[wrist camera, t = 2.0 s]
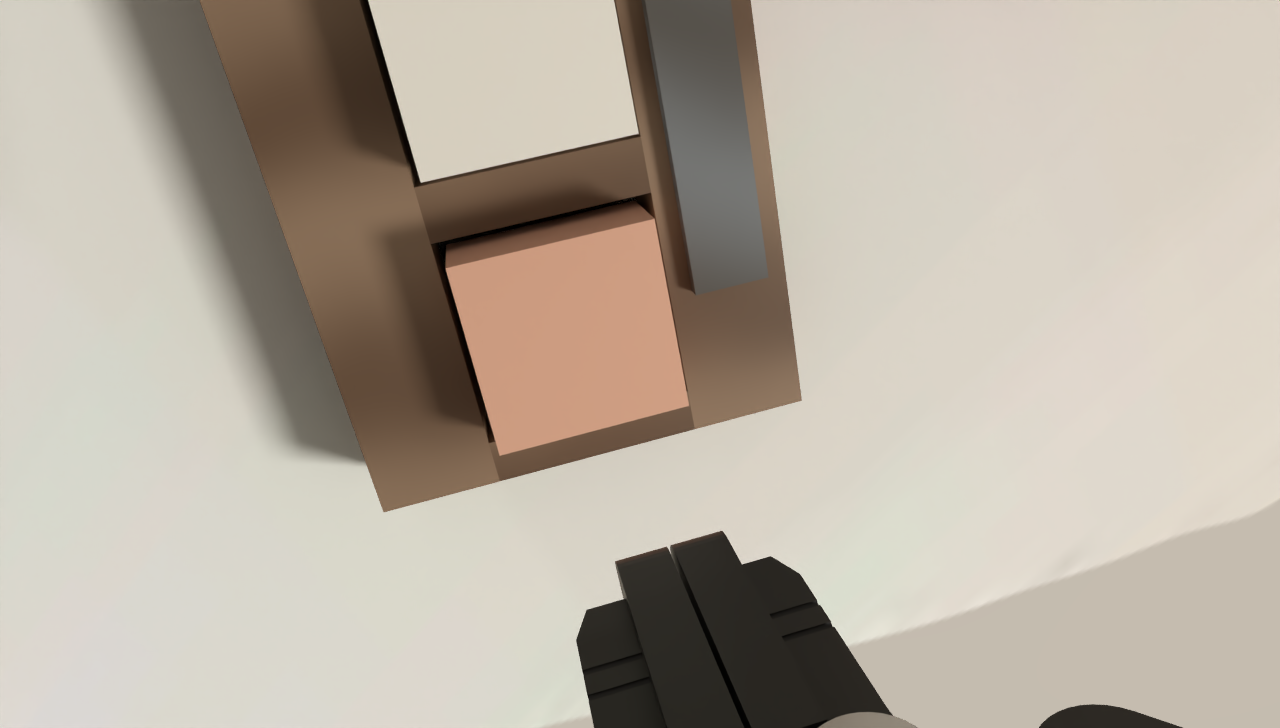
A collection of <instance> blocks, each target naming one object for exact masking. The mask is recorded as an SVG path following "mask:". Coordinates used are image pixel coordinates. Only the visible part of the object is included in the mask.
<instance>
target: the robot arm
mask: <svg viewBox="0 0 1280 728" xmlns="http://www.w3.org/2000/svg"><path fill="white" fill-rule="evenodd" d="M670 550H671V554H670V552H669V550H668V548H667V547H664V548H661V549H657V550H654V551H650V552H647V553H643V554H640V555H636V556H633V557H629V558H626V559H622V560H619V561H615V564H616V569H617V573H618V578H619V582H620V586H621V590H622V594H623V598H624V599H623V600H620V601H616V602H613V603H609V604H606V605H602V606H599V607H595V608H592V609H589V610H586V613H585V616H584V619H583V622H582V625H581V628H580V631H579V634H578V637H577V639H576V641H577V646H578V651H579V656H580V661H581V666H582V671H583V675H584V680H585V685H586V690H587V695H588V699H589V705H590V710H591V714H592V719H593V724H594V728H917V727H916V726H914V725H912V724H911V723H909V722H907V721H905V720H903V719H900V718H897V717H895V716H893V715H892V714H891V713H890V712H889V710H888V708H887V707H886V705H885V704H884V702H883V701H882V699H881V698H880V696H879V695H878V693H877V692H876V690H875V689H874V687H873V685H872V684H871V683H870V681H869V679H868V678H867V676H866V675H865V673H864V672H863V670H862V669H861V667H860V666H859V664H858V663H857V661H856V659H855V658H854V656H853V655H852V653H851V652H850V650H849V649H848V647H847V646H846V644H845V642H844V641H843V639H842V638H841V636H840V635H839V633H838V632H837V630H836V629H835V627H832V624H831V621H830V619H829V618H828V616H827V615H826V613H825V612H824V610H823V609H822V607H821V606H820V605H818V603H817V599H816V598H815V596H814V595H813V593H812V592H811V590H810V589H809V587H808V586H807V584H806V583H805V581H804V580H803V578H802V576H801V575H800V574H799V573H797V572H796V571H794V570H792V569H791V568H789V567H787V566H786V565H784V564H783V563H781V562H779V561H778V560H776V559H774V558H773V557H771V556H770V557H767V558H763V559H760V560H756V561H753V562H750V563H746V564H743V565H742V564H741V562H740V560H739V559H738V557H737V555H736V553H735V551H734V549H733V548H732V546H731V544H730V542H729V540H728V539H727V537H726V535H725V534H724V532H723V531H720V532H716V533H713V534H709V535H706V536H702V537H699V538H695V539H692V540H688V541H685V542H681V543H677V544H674V545H671V546H670ZM1039 728H1182V727H1179V726H1176V725H1173V724H1170V723H1167V722H1164V721H1161V720H1158V719H1156V718H1152V717H1149V716H1146V715H1144V714H1141V713H1138V712H1135V711H1131V710H1127V709H1124V708H1120V707H1114V706H1108V705H1080V706H1075V707H1070V708H1067V709H1064V710H1061V711H1059V712H1057V713H1055V714H1053V715H1052V716H1050V717H1049V718H1048V719H1046V720H1045V721H1044V722H1043V723H1042V724H1041V726H1040V727H1039Z"/></svg>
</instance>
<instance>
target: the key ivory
mask: <svg viewBox="0 0 1280 728" xmlns="http://www.w3.org/2000/svg"><path fill="white" fill-rule="evenodd" d="M368 2H369V5H370V9H371V12H372V16H373V19H374V23H375V26H376V29H377V33H378V36H379V40H380V43H381V47H382V50H383V54H384V57H385V61H386V64H387V68H388V71H389V74H390V78H391V81H392V85H393V88H394V92H395V95H396V99H397V102H398V106H399V109H400V113H401V116H402V119H403V123H404V126H405V130H406V133H407V137H408V140H409V144H410V147H411V151H412V154H413V158H414V161H415V164H416V168H417V171H418V175H419V178H420V182H421V183H422V182H426V181H431V180H435V179H440V178H444V177H449V176H453V175H458V174H462V173H466V172H471V171H475V170H480V169H484V168H489V167H493V166H497V165H502V164H506V163H511V162H515V161H520V160H524V159H529V158H533V157H537V156H542V155H546V154H551V153H555V152H560V151H564V150H569V149H573V148H577V147H582V146H586V145H591V144H595V143H600V142H604V141H608V140H613V139H617V138H622V137H626V136H631V135H635V134H639V132H638V127H637V122H636V116H635V111H634V106H633V100H632V95H631V89H630V84H629V79H628V73H627V68H626V62H625V57H624V52H623V46H622V41H621V35H620V30H619V25H618V19H617V14H616V8H615V3H614V0H368Z"/></svg>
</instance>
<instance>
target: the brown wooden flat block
mask: <svg viewBox="0 0 1280 728" xmlns="http://www.w3.org/2000/svg"><path fill="white" fill-rule="evenodd" d="M200 3H201V6H202V9H203V11H204V14H205V17H206V20H207V23H208V25H209V28H210V31H211V34H212V36H213V39H214V42H215V45H216V48H217V50H218V53H219V56H220V59H221V61H222V64H223V67H224V70H225V73H226V75H227V78H228V81H229V84H230V86H231V89H232V92H233V95H234V98H235V100H236V103H237V106H238V109H239V111H240V114H241V117H242V120H243V123H244V125H245V128H246V131H247V134H248V136H249V139H250V142H251V145H252V148H253V150H254V153H255V156H256V159H257V161H258V164H259V167H260V170H261V173H262V175H263V178H264V181H265V184H266V186H267V189H268V192H269V195H270V198H271V200H272V203H273V206H274V209H275V211H276V214H277V217H278V220H279V223H280V225H281V228H282V231H283V234H284V237H285V239H286V242H287V245H288V248H289V250H290V253H291V256H292V259H293V262H294V264H295V267H296V270H297V273H298V275H299V278H300V281H301V284H302V287H303V289H304V292H305V295H306V298H307V300H308V303H309V306H310V309H311V312H312V314H313V317H314V320H315V323H316V325H317V328H318V331H319V334H320V337H321V339H322V342H323V345H324V348H325V350H326V353H327V356H328V359H329V362H330V364H331V367H332V370H333V373H334V375H335V378H336V381H337V384H338V387H339V389H340V392H341V395H342V398H343V400H344V403H345V406H346V409H347V412H348V414H349V417H350V420H351V423H352V425H353V428H354V431H355V434H356V437H357V439H358V442H359V445H360V448H361V451H362V453H363V456H364V459H365V462H366V464H367V467H368V470H369V473H370V476H371V478H372V481H373V484H374V487H375V489H376V492H377V495H378V498H379V501H380V503H381V506H382V509H383V512H387V511H390V510H394V509H398V508H402V507H405V506H409V505H413V504H416V503H420V502H424V501H428V500H431V499H435V498H439V497H443V496H446V495H450V494H454V493H458V492H461V491H465V490H469V489H473V488H476V487H480V486H484V485H488V484H491V483H495V482H499V481H502V480H506V479H510V478H514V477H517V476H521V475H525V474H529V473H532V472H536V471H540V470H544V469H547V468H551V467H555V466H559V465H562V464H566V463H570V462H574V461H577V460H581V459H585V458H588V457H592V456H596V455H600V454H603V453H607V452H611V451H615V450H618V449H622V448H626V447H630V446H633V445H637V444H641V443H645V442H648V441H652V440H656V439H660V438H663V437H667V436H671V435H674V434H678V433H682V432H686V431H689V430H693V429H697V428H701V427H704V426H708V425H712V424H716V423H719V422H723V421H727V420H731V419H734V418H738V417H742V416H746V415H749V414H753V413H757V412H760V411H764V410H768V409H772V408H775V407H779V406H783V405H787V404H790V403H794V402H798V401H802V399H801V391H800V383H799V375H798V368H797V360H796V352H795V344H794V336H793V329H792V321H791V313H790V305H789V297H788V290H787V282H786V274H785V266H784V258H783V251H782V243H781V235H780V227H779V219H778V211H777V204H776V196H775V188H774V180H773V172H772V165H771V157H770V149H769V141H768V133H767V126H766V118H765V110H764V102H763V94H762V87H761V79H760V71H759V63H758V55H757V47H756V40H755V32H754V24H753V16H752V8H751V1H750V0H614V3H615V8H616V14H617V19H618V25H619V30H620V35H621V41H622V46H623V52H624V57H625V62H626V68H627V73H628V79H629V84H630V89H631V95H632V100H633V106H634V111H635V116H636V122H637V127H638V132H639V134H635V135H631V136H626V137H622V138H617V139H613V140H608V141H604V142H600V143H595V144H591V145H586V146H582V147H577V148H573V149H569V150H564V151H560V152H555V153H551V154H546V155H542V156H537V157H533V158H529V159H524V160H520V161H515V162H511V163H506V164H502V165H497V166H493V167H489V168H484V169H480V170H475V171H471V172H466V173H462V174H458V175H453V176H449V177H444V178H440V179H435V180H431V181H426V182H422V183H421V182H420V178H419V175H418V171H417V168H416V164H415V161H414V158H413V154H412V151H411V147H410V144H409V140H408V137H407V133H406V130H405V126H404V123H403V119H402V116H401V113H400V109H399V106H398V102H397V99H396V95H395V92H394V88H393V85H392V81H391V78H390V74H389V71H388V68H387V64H386V61H385V57H384V54H383V50H382V47H381V43H380V40H379V36H378V33H377V29H376V26H375V23H374V19H373V16H372V12H371V9H370V5H369V2H368V0H200ZM635 196H636V200H637V203H638V204H639V205H640V206H641V207H642V208H643V209H645V210H646V211H647V212H648V213H649V214H650V215H651V216H652V217H653V218H654V219H655V224H656V230H657V235H658V240H659V246H660V251H661V256H662V262H663V267H664V273H665V278H666V283H667V289H668V294H669V300H670V305H671V310H672V316H673V321H674V327H675V332H676V337H677V343H678V348H679V354H680V359H681V364H682V370H683V375H684V380H685V386H686V391H687V397H688V402H689V406H687V407H683V408H679V409H675V410H671V411H668V412H664V413H660V414H656V415H652V416H649V417H645V418H641V419H637V420H634V421H630V422H626V423H622V424H618V425H615V426H611V427H607V428H603V429H599V430H596V431H592V432H588V433H584V434H581V435H577V436H573V437H569V438H565V439H562V440H558V441H554V442H550V443H546V444H543V445H539V446H535V447H531V448H528V449H524V450H520V451H516V452H512V453H509V454H505V455H501V456H500V455H499V452H498V448H497V445H496V441H495V438H494V434H493V431H492V427H491V424H490V421H489V417H488V414H487V410H486V407H485V403H484V400H483V396H482V393H481V389H480V386H479V382H478V379H477V376H476V372H475V369H474V365H473V362H472V358H471V355H470V351H469V348H468V344H467V341H466V338H465V334H464V331H463V327H462V324H461V320H460V317H459V313H458V310H457V306H456V303H455V299H454V296H453V293H452V289H451V286H450V282H449V279H448V275H447V272H446V268H445V264H444V261H443V257H442V254H441V250H440V247H439V244H438V242H442V241H446V240H451V239H455V238H459V237H463V236H468V235H472V234H476V233H481V232H485V231H489V230H493V229H498V228H502V227H506V226H511V225H515V224H519V223H523V222H528V221H532V220H536V219H540V218H545V217H549V216H553V215H558V214H562V213H566V212H570V211H575V210H579V209H583V208H588V207H592V206H596V205H600V204H605V203H609V202H613V201H618V200H622V199H626V198H630V197H635Z"/></svg>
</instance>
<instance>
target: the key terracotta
mask: <svg viewBox="0 0 1280 728" xmlns="http://www.w3.org/2000/svg"><path fill="white" fill-rule="evenodd" d="M446 272H447V275H448V279H449V282H450V286H451V289H452V293H453V296H454V299H455V303H456V306H457V310H458V313H459V317H460V320H461V324H462V327H463V331H464V334H465V338H466V341H467V344H468V348H469V351H470V355H471V358H472V362H473V365H474V369H475V372H476V376H477V379H478V382H479V386H480V389H481V393H482V396H483V400H484V403H485V407H486V410H487V414H488V417H489V421H490V424H491V427H492V431H493V434H494V438H495V441H496V445H497V448H498V452H499V455H500V456H501V455H505V454H509V453H512V452H516V451H520V450H524V449H528V448H531V447H535V446H539V445H543V444H546V443H550V442H554V441H558V440H562V439H565V438H569V437H573V436H577V435H581V434H584V433H588V432H592V431H596V430H599V429H603V428H607V427H611V426H615V425H618V424H622V423H626V422H630V421H634V420H637V419H641V418H645V417H649V416H652V415H656V414H660V413H664V412H668V411H671V410H675V409H679V408H683V407H687V406H689V402H688V397H687V391H686V386H685V380H684V375H683V370H682V364H681V359H680V354H679V348H678V343H677V337H676V332H675V327H674V321H673V316H672V310H671V305H670V300H669V294H668V289H667V283H666V278H665V273H664V267H663V262H662V256H661V251H660V246H659V240H658V235H657V230H656V224H655V219H654V218H653V217H652V216H651V215H650V214H649V213H648V212H647V211H646V210H645V209H643V208H642V207H641V206H640V205H639V204H638V203H637V202H636V201H631V202H627V203H622V204H618V205H614V206H610V207H605V208H601V209H597V210H593V211H588V212H584V213H580V214H575V215H571V216H567V217H563V218H558V219H554V220H550V221H546V222H541V223H537V224H533V225H528V226H524V227H520V228H516V229H511V230H507V231H503V232H499V233H494V234H490V235H486V236H482V237H477V238H473V239H469V240H464V241H460V242H456V243H452V244H447V245H446Z"/></svg>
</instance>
